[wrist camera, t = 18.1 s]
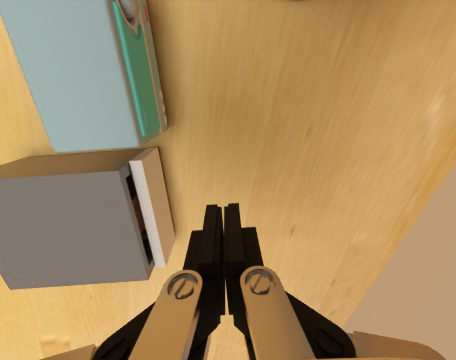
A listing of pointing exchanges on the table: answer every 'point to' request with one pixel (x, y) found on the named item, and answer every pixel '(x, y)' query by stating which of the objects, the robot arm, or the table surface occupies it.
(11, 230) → the housing
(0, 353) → the table surface
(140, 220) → the block
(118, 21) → the radio
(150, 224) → the light grey drawer
